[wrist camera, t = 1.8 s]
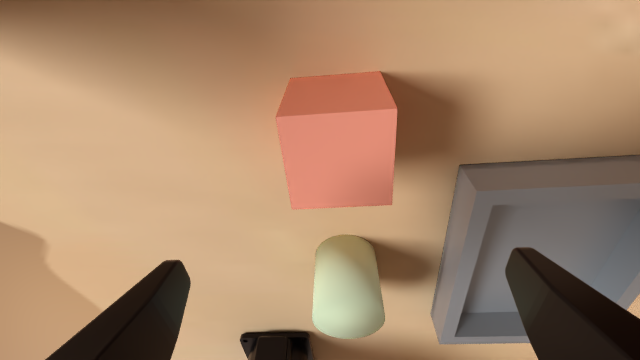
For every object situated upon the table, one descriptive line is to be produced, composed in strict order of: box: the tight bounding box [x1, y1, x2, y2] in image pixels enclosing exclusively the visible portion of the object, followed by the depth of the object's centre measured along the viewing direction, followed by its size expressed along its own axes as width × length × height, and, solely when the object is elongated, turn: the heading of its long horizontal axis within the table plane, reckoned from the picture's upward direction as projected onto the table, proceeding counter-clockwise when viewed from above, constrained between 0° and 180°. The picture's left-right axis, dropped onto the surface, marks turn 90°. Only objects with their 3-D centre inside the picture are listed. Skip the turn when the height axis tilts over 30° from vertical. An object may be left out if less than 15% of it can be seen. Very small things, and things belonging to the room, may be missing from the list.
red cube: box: [276, 71, 397, 209], centre depth 15 cm, size 4×4×5 cm
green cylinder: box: [312, 235, 385, 339], centre depth 21 cm, size 4×4×5 cm
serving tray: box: [431, 155, 640, 344], centre depth 21 cm, size 15×12×3 cm
